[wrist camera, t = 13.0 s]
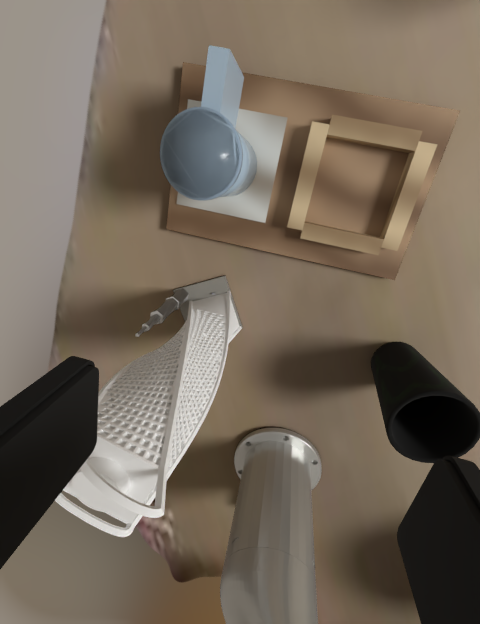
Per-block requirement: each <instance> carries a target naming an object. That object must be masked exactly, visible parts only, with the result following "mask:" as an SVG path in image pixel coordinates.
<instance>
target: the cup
mask: <svg viewBox="0 0 480 624" xmlns="http://www.w3.org/2000/svg"><path fill="white" fill-rule="evenodd" d="M371 368H372V372H373V376H374V380H375V385H376V389H377V393H378V398H379V402H380V406H381V411H382V415H383V419H384V424H385V428H386V432H387V436H388V439H389V441H390V443H391V445H392V446H393V447H394V448H395V449H396V451H398V452H399V453H401V454H402V455H403V456H405V457H407V458H410V459H412V460H415V461H419V462H424V463H435V461H436V460H438V459H441V460H442V459H443V457H445V456H453V457H456V458H458V457H460V456H462V455H464V454H466V453H467V452H468V451H469V450H470V449H472V448H473V447H474V445H475V444H476V443H477V441H478V440H479V438H480V412H479V411H478V409H477V408H476V407H475V405H474V404H473V403H472V402H471V401H470V400H468V399H467V398H466V397H465V396H464V395H463V394H462V393H461V392H460V391H459V390H458V389H457V388H456V387H455V386H454V385H453V384H452V383H451V382H449V381H448V380H447V379H446V378H445V377H444V376H443V375H442V374H441V373H440V372H439V371H438V370H437V369H436V368H435V367H434V366H433V365H431V364H430V363H429V362H428V361H427V360H426V359H425V358H424V357H423V356H422V355H421V354H420V353H419V352H418V351H417V350H416V349H415V348H413V347H412V346H411V345H409V344H406V343H402V342H392V343H387V344H385V345H383V346H381V347H380V348H379V349H377V351H376V352H375V353H374V355H373V357H372V360H371Z"/></svg>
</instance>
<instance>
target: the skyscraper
mask: <svg viewBox="0 0 480 624" xmlns="http://www.w3.org/2000/svg"><path fill="white" fill-rule="evenodd" d="M173 292H174V295H173V296H171V297H169V298H166V301H165V302H164V304H163V305H162V306H161V307H160V308H158V309H157V310H155V311H153V312H151V316H150V320H149V321H147V322H146V323H144V324H142V329H141V330H140V331H139V332H137V333H136V335H135V336H137V337H139V336H140V335H141V333H143V332H144V331H149V330H150V329H151V327H152V326H153V325H154V324H160V323H163V322H164V320H165V319H166V318H167V316H168V315H169V314H171V313H172V312H173V311H175V310H178V309H179V308H180V310H181V313H182V315H183V318H184V321H185V323H184V325H183V326H182V328H181V329H180V330H179V331H178V332H177V333H176V334H175V335H174V336H173V337H172V338H171V339H170V340H169V341H168V342H166V343H165V344H164V345H163V346H161V347H160V348H158V349H156V350H154V351H152V352H150V353H147V354H145V355H143V356H141V357H139V358H137V359H136V360H134V361H132V362H131V363H129V364H128V365H126V366H125V367H124V368H122V369H121V370H120V371H119V372H118V373H116V374H115V375H114V376H113V377H112V378H111V379H110V380H109V381H108V382H107V383H106V384H105V386H104V387H103V388H102V389H101V390H100V391H99V392H98V424H97V443H96V446H95V448H94V450H93V452H92V454H91V455H90V456H89V457H88V459H87V460H86V461H85V463H84V464H83V465H82V466H81V468H80V469H79V470H78V471H77V473H76V474H75V475H74V476H73V478H72V479H71V480H70V482H69V483H68V484H67V485H66V487H65V488H64V489H63V491H65V492H67V493H69V494H71V495H72V496H74V497H77V498H78V499H79V500H80V501H81V502H82V503H83V504H85V505H86V506H88V507H89V508H91V509H94V510H97V511H101V512H105V513H107V514H109V515H110V516H113V517H114V518H116V519H118V520H120V521H122V522H124V523H125V524H127V525H126V527H125V528H122V527H118V526H115V525H113V524H110V523H108V522H106V521H104V520H102V519H99V518H98V517H96V516H94V515H92V514H90V513H89V512H87V511H86V510H84V509H82V508H81V507H79V506H77V505H76V504H74V503H73V502H71V501H70V500H69V499H67V498H66V497H65V496H64V495H63V494H62V493H60V494H59V496H58V497H57V498H56V499H55V501H56V502H57V503H58V504H59V505H61V506H62V507H63V508H65V509H66V510H67V511H69V512H70V513H72V514H74V515H75V516H77V517H79V518H80V519H82V520H83V521H85V522H87V523H89V524H91V525H92V526H95V527H97V528H98V529H100V530H102V531H105V532H107V533H109V534H112V535H115V536H119V537H126V536H129V535H130V534H131V533H132V531H133V529H134V527H135V526H136V525H137V523H138V522H139V520H140V519H141V517H142V516H145V517H150V518H158V517H161V516H163V515H164V508H165V495H166V481H167V480H168V478H169V477H170V475H171V474H172V472H173V471H174V469H175V468H176V466H177V464H178V463H179V461H180V460H181V458H182V457H183V455H184V454H185V452H186V450H187V449H188V447H189V445H190V444H191V442H192V441H193V439H194V437H195V436H196V434H197V432H198V430H199V428H200V426H201V425H202V423H203V421H204V419H205V417H206V415H207V413H208V411H209V409H210V406H211V404H212V402H213V400H214V397H215V394H216V392H217V389H218V386H219V383H220V380H221V377H222V373H223V369H224V365H225V361H226V356H227V350H228V344H229V343H230V341H231V340H232V339H233V338H234V337H235V336H236V335H237V333H238V332H239V331H240V330H241V329H242V324H241V321H240V318H239V315H238V312H237V309H236V306H235V303H234V300H233V297H232V294H231V291H230V288H229V285H228V282H227V279H226V276H221V277H217V278H214V279H210V280H207V281H203V282H199V283H196V284H192V285H189V286H185V287H181V288H178V289H174V290H173ZM154 498H155V506H150V504H151V503H152V501H153V500H154Z"/></svg>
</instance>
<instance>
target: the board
mask: <svg viewBox="0 0 480 624" xmlns="http://www.w3.org/2000/svg"><path fill="white" fill-rule="evenodd" d="M205 72H206V66H202V65H196V64H191V63H185V62H183V68H182V78H181V88H180V98H179V108H178V114H179V113H180V112H182V111H184V110H186V109H189V108H193V107H201V102H202V95H203V87H204V79H205ZM242 74H243V76H244V81H243V87H242V93H241V99H240V105H239V111H238V117H237V122H236V128H235V129H236V130H237V131H238V132H239V133H240V134H241V135H242V136H243V137H244V138H245V139H246V140H247V141H248V142H249V143H250V144H251V146H252V147H253V149H254V151H255V154H256V158H257V172H256V175H255V178H254V180H253V182H252V184H251V185H250V186H249V187H248V188H247V189H246V190H245V191H244V192H242V193H241V194H238V195H235V196H229V197H218V198H215V199H212V200H193V199H190V198H188V197H185V196H183V195H182V194H180V193H179V192H178V191H177V190H175V189H174V187H173V186H172V185H171V187H170V197H169V207H168V217H167V227H166V229H168V230H173V231H177V232H182V233H186V234H191V235H195V236H200V237H204V238H208V239H213V240H217V241H222V242H226V243H231V244H235V245H240V246H244V247H249V248H253V249H258V250H262V251H267V252H271V253H276V254H280V255H285V256H289V257H294V258H298V259H303V260H307V261H312V262H316V263H321V264H325V265H329V266H334V267H338V268H343V269H347V270H352V271H356V272H361V273H365V274H370V275H374V276H379V277H383V278H388V279H392V280H395V278H396V276H397V273H398V270H399V268H400V265H401V263H402V260H403V257H404V255H405V252H406V250H407V247H408V245H409V242H410V239H411V237H412V234H413V232H414V229H415V226H416V224H417V221H418V219H419V216H420V213H421V211H422V208H423V206H424V203H425V201H426V198H427V195H428V193H429V190H430V188H431V185H432V182H433V180H434V177H435V175H436V172H437V169H438V167H439V164H440V162H441V159H442V157H443V154H444V151H445V149H446V146H447V144H448V141H449V138H450V136H451V133H452V131H453V128H454V125H455V123H456V120H457V118H458V115H459V113H460V111H458V110H453V109H447V108H441V107H435V106H430V105H424V104H418V103H413V102H407V101H401V100H396V99H390V98H384V97H379V96H373V95H367V94H361V93H356V92H350V91H344V90H339V89H333V88H327V87H322V86H316V85H310V84H305V83H299V82H293V81H287V80H282V79H276V78H270V77H265V76H259V75H253V74H248V73H242ZM332 115H338V116H343V117H348V118H354V119H359V120H365V121H370V122H376V123H381V124H387V125H392V126H398V127H403V128H409V129H414V130H420V131H422V134H421V137H420V140H419V141H421V142H426V143H432V144H437V147H436V150H435V152H434V155H433V158H432V160H431V163H430V166H429V168H428V171H427V174H426V176H425V179H424V182H423V184H422V187H421V190H420V192H419V195H418V198H417V200H416V203H415V206H414V208H413V211H412V214H411V216H410V219H409V222H408V224H407V227H406V229H405V232H404V235H403V237H402V240H401V243H400V245H399V248H398V251H395V250H390V249H386V248H381V250H380V252H379V255H375V254H370V253H365V252H361V251H356V250H352V249H347V248H342V247H338V246H333V245H329V244H324V243H319V242H315V241H310V240H306V239H301V238H300V235H301V231H302V230H298V229H293V228H288V227H287V225H288V221H289V217H290V212H291V208H292V204H293V200H294V196H295V191H296V187H297V183H298V179H299V175H300V171H301V166H302V162H303V158H304V154H305V150H306V145H307V141H308V137H309V133H310V129H311V125H312V121H313V122H319V123H324V124H329V122H330V118H331V116H332ZM408 155H409V153H405V152H400V151H394V150H389V149H384V148H379V147H373V146H368V145H363V144H357V143H352V142H347V141H342V140H336V139H331V138H326V141H325V145H324V148H323V152H322V156H321V160H320V164H319V168H318V172H317V176H316V179H315V183H314V187H313V191H312V195H311V199H310V203H309V207H308V210H307V214H306V218H305V221H306V222H311V223H315V224H320V225H325V226H329V227H334V228H339V229H343V230H348V231H353V232H358V233H362V234H367V235H372V236H376V237H380V235H381V232H382V229H383V226H384V224H385V221H386V218H387V215H388V212H389V209H390V206H391V204H392V201H393V198H394V195H395V192H396V189H397V186H398V184H399V181H400V178H401V175H402V172H403V169H404V166H405V164H406V161H407V158H408Z"/></svg>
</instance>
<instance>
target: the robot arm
mask: <svg viewBox="0 0 480 624" xmlns="http://www.w3.org/2000/svg"><path fill="white" fill-rule="evenodd" d="M98 389H99V370H98V368H96V367H95V365H94V362H92V361H90V360H86V359H83V358H79V357H75V356H71V357H69V358H67V359H66V360H65V361H63V362H62V363H60V364H59V365H58V366H56V367H55V368H54V369H52V370H51V371H49V372H48V373H47V374H45V375H44V376H43V377H41V378H40V379H38V380H37V381H36V382H34V383H33V384H31V385H30V386H29V387H27V388H26V389H24V390H23V391H22V392H20V393H19V394H17V395H16V396H15V397H13V398H12V399H11V400H9V401H8V402H6V403H5V404H4V405H2V406H1V407H0V569H1V568H2V566H3V565H4V564H5V563H6V561H7V560H8V559H9V558H10V556H11V555H12V554H13V553H14V551H15V550H16V549H17V547H18V546H19V545H20V544H21V542H22V541H23V540H24V539H25V537H26V536H27V535H28V533H29V532H30V531H31V529H32V528H33V527H34V526H35V525H36V523H37V522H38V521H39V520H40V518H41V517H42V516H43V515H44V513H45V512H46V511H47V509H48V508H49V507H50V505H51V504H52V503H53V502H54V501H55V499H56V498H57V497H58V496H59V494H60V493H61V492H62V490H63V489H64V488H65V487H66V485H67V484H68V483H69V482H70V480H71V479H72V478H73V476H74V475H75V474H76V473H77V471H78V470H79V469H80V468H81V466H82V465H83V464H84V463H85V461H86V460H87V459H88V457H89V456H90V455H91V454H92V452H93V450H94V448H95V446H96V443H97V424H98ZM234 466H235V470H236V473H237V475H238V477H239V478H240V479H241V480H240V485H239V490H238V495H237V501H236V506H235V511H234V516H233V521H232V526H231V531H230V536H229V541H228V546H227V551H226V556H225V562H224V567H223V572H222V577H221V585H220V597H221V606H222V611H223V615H224V618H225V621H226V624H318V615H317V597H316V579H315V558H314V537H313V516H312V495H311V490H313V488H314V487H315V486H316V485H317V484H318V482H319V480H320V477H321V460H320V456H319V454H318V452H317V450H316V449H315V447H314V446H313V445H312V444H311V443H310V442H309V441H308V440H307V439H306V438H304V437H303V436H302V435H300V434H298V433H296V432H293V431H290V430H287V429H282V428H263V429H259V430H256V431H253V432H251V433H250V434H248V435H246V436H245V437H244V438H243V439H242V440H241V441H240V443H239V444H238V446H237V449H236V451H235V456H234ZM397 539H398V544H399V548H400V551H401V555H402V558H403V562H404V565H405V569H406V572H407V576H408V579H409V583H410V586H411V589H412V593H413V596H414V600H415V603H416V607H417V610H418V614H419V617H420V621H421V624H480V470H479V468H478V467H477V466H476V465H475V463H473V462H471V461H468V460H464V459H460V458H456V457H453V456H445V457H443V459H442V460H441V459H438V460H436V461H435V463H434V465H433V466H432V468H431V470H430V472H429V474H428V475H427V477H426V479H425V481H424V483H423V484H422V486H421V488H420V490H419V491H418V493H417V495H416V497H415V499H414V500H413V502H412V504H411V506H410V508H409V509H408V511H407V513H406V515H405V517H404V518H403V520H402V522H401V524H400V526H399V528H398V532H397Z"/></svg>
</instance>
